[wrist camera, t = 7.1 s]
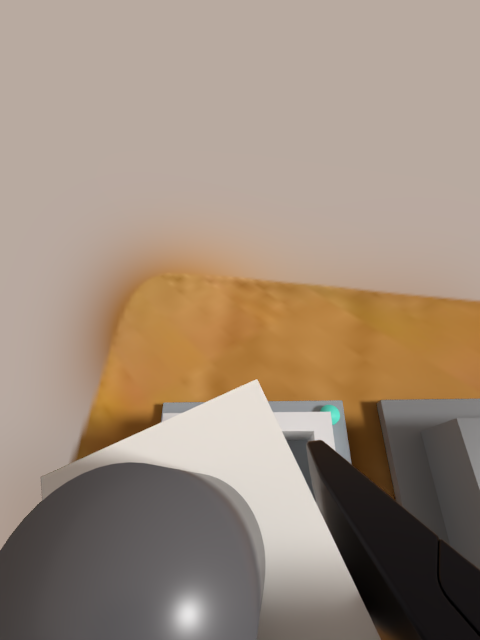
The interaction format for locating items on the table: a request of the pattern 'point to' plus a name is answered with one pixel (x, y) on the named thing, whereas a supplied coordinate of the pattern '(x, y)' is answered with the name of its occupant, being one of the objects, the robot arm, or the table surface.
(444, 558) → the robot arm
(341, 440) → the port panel
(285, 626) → the plug
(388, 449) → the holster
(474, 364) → the table surface
